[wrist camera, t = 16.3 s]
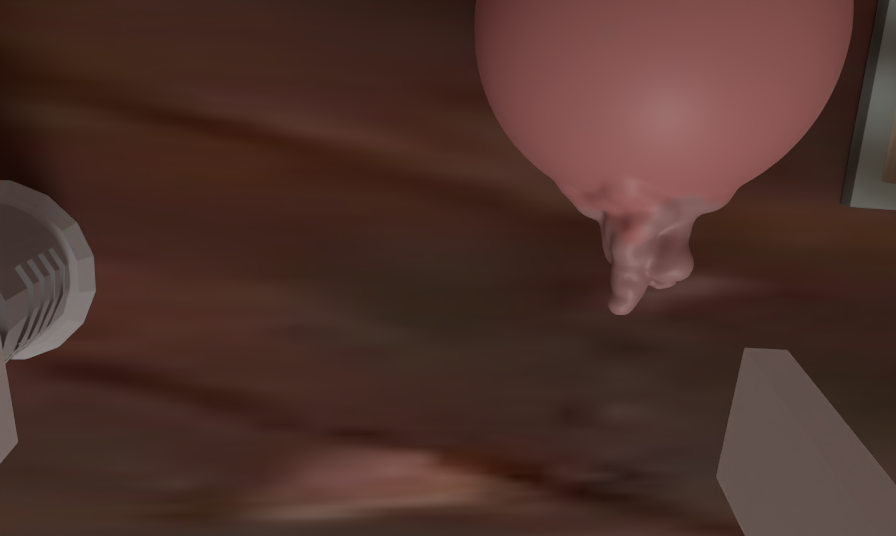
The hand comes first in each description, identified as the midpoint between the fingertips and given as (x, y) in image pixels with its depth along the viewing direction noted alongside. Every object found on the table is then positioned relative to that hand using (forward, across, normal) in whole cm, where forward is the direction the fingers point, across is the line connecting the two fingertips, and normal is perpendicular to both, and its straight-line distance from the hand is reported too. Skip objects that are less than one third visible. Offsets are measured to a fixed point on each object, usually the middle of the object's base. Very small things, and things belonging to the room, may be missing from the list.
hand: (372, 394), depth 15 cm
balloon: (+31, +9, +1) cm, 33 cm away
